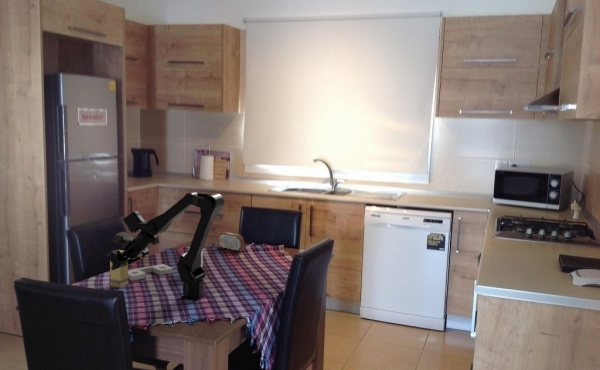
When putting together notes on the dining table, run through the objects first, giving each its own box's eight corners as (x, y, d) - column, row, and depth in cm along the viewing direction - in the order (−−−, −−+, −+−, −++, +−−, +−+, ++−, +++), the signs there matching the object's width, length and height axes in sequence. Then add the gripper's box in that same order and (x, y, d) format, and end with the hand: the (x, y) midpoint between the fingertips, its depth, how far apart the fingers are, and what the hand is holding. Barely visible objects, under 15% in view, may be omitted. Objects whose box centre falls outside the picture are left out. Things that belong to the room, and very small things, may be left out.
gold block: (128, 284, 203) (127, 251, 202) (120, 287, 199) (120, 253, 197) (118, 282, 205) (117, 249, 203) (110, 285, 200) (109, 252, 199)
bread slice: (244, 251, 259) (245, 234, 258) (240, 252, 256) (241, 235, 255) (221, 246, 267) (221, 230, 266) (217, 247, 264) (217, 231, 263)
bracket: (173, 272, 220) (173, 268, 219) (132, 280, 207) (132, 275, 207) (163, 268, 225) (163, 263, 225) (122, 276, 213) (122, 270, 213)
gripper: (142, 221, 206) (119, 246, 211) (111, 230, 189) (86, 257, 194) (160, 243, 205) (135, 267, 210) (130, 254, 187) (104, 280, 192)
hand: (116, 267), depth 201 cm, fingers closed on gold block, 4 cm apart
